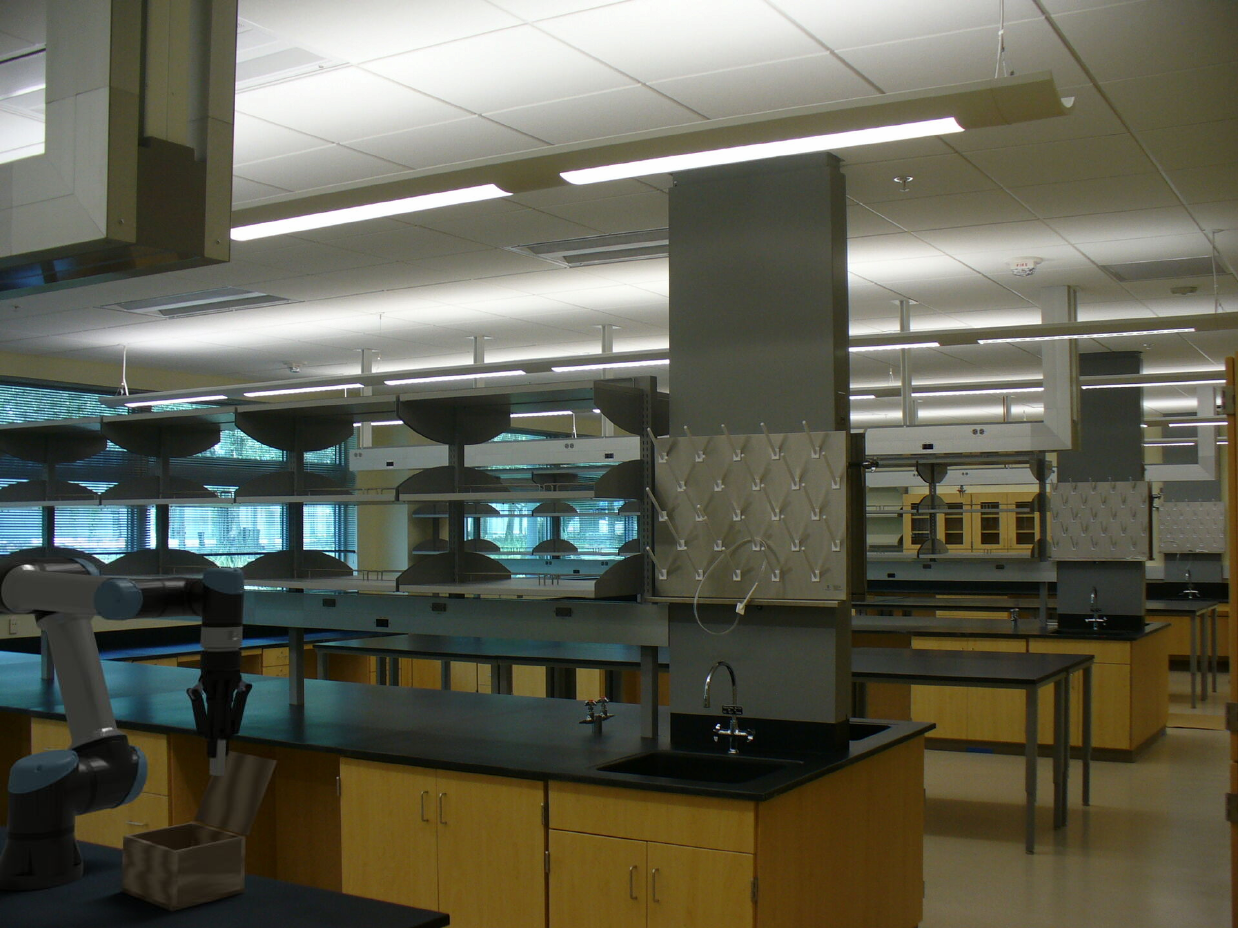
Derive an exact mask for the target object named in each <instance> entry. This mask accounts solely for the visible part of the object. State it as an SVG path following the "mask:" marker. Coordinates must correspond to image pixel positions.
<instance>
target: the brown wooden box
mask: <svg viewBox="0 0 1238 928" xmlns="http://www.w3.org/2000/svg"><path fill="white" fill-rule="evenodd" d="M121 858H122V862H121V863H122V864H121V886H120V887H121V890H120V892H121V893H124V894H127V895H130V896H133V897H135V898H138V899H140V900H143V901H145V902H148V903H151V904H153V905H155V906H158V907H161V908H163V909H166V910H168V911H171V912H173V911H174V912H175V911H177V910H181V909H185V908H189V907H193V906H198V905H201V904H205V903H209V902H213V901H217V900H220V899H226V898H229V897H232V896H235V895H236V896H237V895H240V894H243V893H245V875H246V874H245V871H246V870H245V869H246V835H242V834H239V833H235V832H232V831H231V832H230V831H228V830H225V829H221V828H218V827H214V826H211V825H207V824H203V823H200V822H196V821H192V822H186V823H181V824H176V825H172V826H167V827H161V828H156V829H150V830H146V831H140V832H136V833H135V832H134V833H131V834H125V835H123V837H122V857H121Z"/></svg>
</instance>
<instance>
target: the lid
mask: <svg viewBox="0 0 1238 928" xmlns="http://www.w3.org/2000/svg"><path fill="white" fill-rule="evenodd" d="M277 762H278V761H277V760H275V759H271V758H265V757H260V756H256V755H252V754H246V753H242V752H236V751H231V750H229V754H228V756H225V775H222V776H215V775H211V776H210V779H209V781H208V783H207V784H208V785H207V787H206V788H205V792H204V794H203V796H202V799H201V802H200V803H199V806H198V808H197V812H196V814H195V816H194V819H193V822H196V823H200V824H203V825H207V826H211V827H214V828H218V829H221V830H225V831H228V832H230V831H231V832H232V833H235V834H239V835H242V836H247V837H248V836H249V835H250V832H251V830H252V827H253V824H254V822H255V819H256V817H257V813H258V811H259V809H260V806H261V803H262V801H263V798H264V796H265V793H266V790H267V788H268V786H269V782H270V780H271V778H272V775H273V772H274V770H275V768H276V765H277Z"/></svg>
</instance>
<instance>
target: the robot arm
mask: <svg viewBox="0 0 1238 928" xmlns="http://www.w3.org/2000/svg"><path fill="white" fill-rule="evenodd" d="M245 590H246V588H245V575H244V571H243V570H242V569H240V568H238V567H237V568H236V567H235V568H234V567H232V568H231V567H228V568H226V567H221V568H220V567H215V568H213V567H211V568H210V567H207V568H206V569H204V571H203V574H202V577H185V576H170V577H155V578H154V577H153V578H152V577H151V578H129V577H115V576H113V577H112V576H103V575H102V576H101V574H100V572H99V571H98V569H97V567H96V566H95V565H94V564H93V563H91V562H90V561H88V560H86V559H84V558H77V557H75V558H74V557H71V556H63V557H17V558H10V559H8V560H4V561H3V562H1V563H0V612H1V613H2V612H3V613H5V614H9V615H33V616H34V620H35V624H36V627H37V628H38V629H40V630H42V631H43V632H45V633H46V635H47V636H46V637H47V640H48V645H49V647H50V654H51V656H52V662H53V666H54V670H55V673H56V674H55V675H56V679H57V681H58V687H59V691H60V695H61V700H62V704H63V708H64V709H63V710H64V713H65V717H66V721H67V725H68V730H69V735H70V738H71V743H70V745H69V746H68V747H67V749H54V750H50V751H41V752H37V753H33V754H30V755H27V756H24V757H23V758H20V759H19V760H17V761H15V762H14V764H12V766H11V767H10V771H9V779H8V784H7V791H8V793H7V794H8V798H7V801H8V802H7V823H6V824H7V825H6V842H5V845H4V847H3V850H2V853H1V855H0V889H1V890H4V891H5V890H6V891H33V890H34V891H36V890H43V889H49V888H54V887H58V886H59V887H60V886H63V885H67V884H70V883H73V882H76V881H78V880H79V879H81V878H82V877H83V876H84V862H83V857H82V854H81V851H80V848H79V845H78V842H77V838H76V833H75V827H76V825H75V824H76V817H78V816H82V815H88V814H92V813H95V812H100V811H104V810H108V809H110V810H113V809H117V808H119V807H121V806H124V805H128V804H130V803H132V802H134V801H135V800H137V798H138V797H139V796H140V795H141V794H142V792H143V791H144V787H145V785H146V783H147V779H148V774H149V773H148V771H149V768H148V759H147V757H146V754H145V753H144V751H143V750H141V749H140V747H139V746H136V745H133V744H130V743H129V738H128V734H127V733H126V732H124V731H121V729H118V728H117V723H116V719H115V715H114V710H113V707H112V703H111V699H110V698H111V697H110V694H109V691H108V685H107V682H106V678H105V674H104V670H103V669H104V668H103V666H102V661H101V658H100V654H99V650H98V646H97V641H96V637H95V633H94V629H93V628H94V627H93V624H92V620H93V619H94V617H96V616H98V617H101V618H102V619H103V620H106V621H115V622H116V621H117V622H118V621H119V622H120V621H127V620H139V619H141V620H142V619H158V618H173V617H175V618H176V617H177V618H178V617H201V624H200V626H201V628H200V629H201V630H200V647H201V648H202V649H203V650H201V652H199V653H200V656H199V661H200V662H199V669H200V670H199V671H200V674H199V675H200V676H199V677H198V679H197V680H198V681H197V684H196V685H194V686H193V687H188V688H187V689H185V690H186V691H185V692H186V694H187V696H188V698H189V699H190V702H191V706H192V707H191V708H192V712H193V713H192V714H193V718H194V719H193V720H194V724H195V729H196V735H197V737H198V738H202V739H204V740H205V741H206V757H207V759H208V758H209V775H211V776H212V775H215V776H222V775H225V756H228V754H229V751H230V740H232V739H234V736H235V735H239V733H240V730H241V725H242V722H243V718H244V712H245V708H246V704H247V699H248V696H249V695H250V693H251V691H252V689H253V686H254V685H253V684H252V683H249V682H246V681H244V680H243V676H242V673H241V668H242V664H243V659H242V658H243V651H242V650H241V649H239V648H241V647H242V646H243V625H244V602H245V601H244V600H245V592H246V591H245ZM204 694H205V699H204V697H203V695H204ZM205 703H206V704H205Z"/></svg>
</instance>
